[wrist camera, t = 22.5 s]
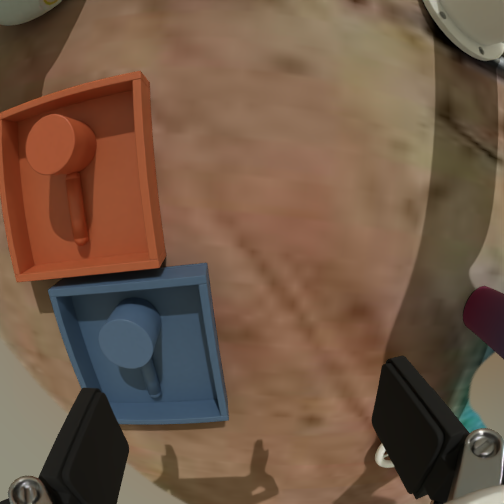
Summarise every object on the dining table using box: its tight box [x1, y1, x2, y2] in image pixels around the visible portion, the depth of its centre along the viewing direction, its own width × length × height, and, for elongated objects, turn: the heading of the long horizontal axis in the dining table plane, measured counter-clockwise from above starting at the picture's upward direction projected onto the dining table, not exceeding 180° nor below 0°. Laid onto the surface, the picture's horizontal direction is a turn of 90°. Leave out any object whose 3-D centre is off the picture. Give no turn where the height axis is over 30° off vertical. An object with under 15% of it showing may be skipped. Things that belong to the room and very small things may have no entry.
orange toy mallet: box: [26, 114, 96, 246], centre depth 19 cm, size 9×4×4 cm, turn 5°
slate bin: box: [48, 263, 229, 424], centre depth 24 cm, size 13×12×3 cm
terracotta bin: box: [0, 71, 166, 282], centre depth 20 cm, size 13×12×3 cm
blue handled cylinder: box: [99, 297, 161, 398], centre depth 23 cm, size 9×4×4 cm, turn 5°
